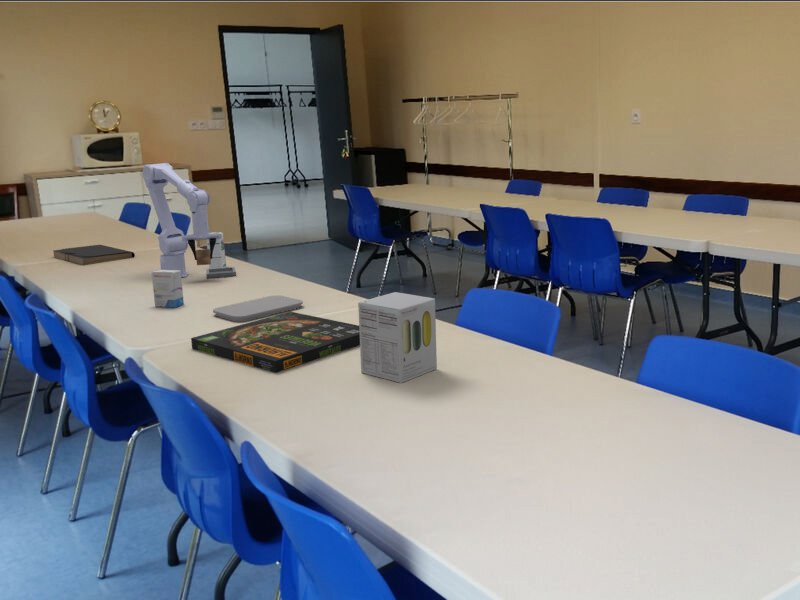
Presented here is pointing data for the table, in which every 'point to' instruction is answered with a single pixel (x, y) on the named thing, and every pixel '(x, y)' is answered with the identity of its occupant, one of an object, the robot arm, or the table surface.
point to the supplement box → (397, 336)
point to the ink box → (167, 288)
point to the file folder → (92, 254)
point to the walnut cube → (203, 257)
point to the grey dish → (221, 272)
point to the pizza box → (280, 341)
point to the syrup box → (218, 253)
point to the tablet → (257, 308)
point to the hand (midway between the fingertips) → (203, 258)
